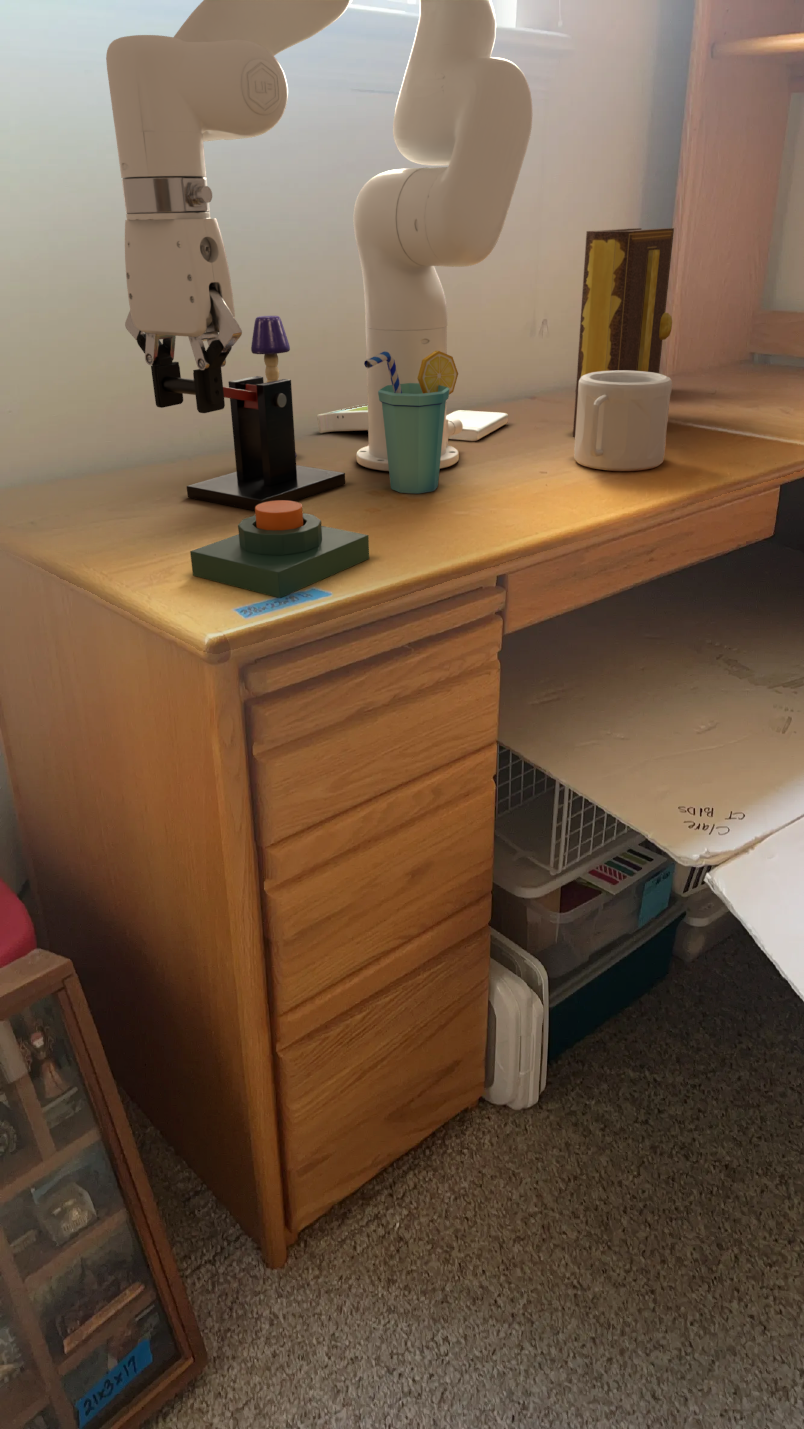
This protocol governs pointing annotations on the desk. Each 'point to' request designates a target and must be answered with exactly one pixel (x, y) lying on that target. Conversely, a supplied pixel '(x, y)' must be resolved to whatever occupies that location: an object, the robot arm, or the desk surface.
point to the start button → (279, 515)
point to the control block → (279, 556)
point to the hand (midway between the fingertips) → (190, 406)
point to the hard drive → (477, 423)
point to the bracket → (264, 454)
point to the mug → (622, 420)
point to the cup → (416, 421)
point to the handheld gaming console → (344, 420)
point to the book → (624, 301)
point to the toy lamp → (269, 343)
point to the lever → (247, 395)
